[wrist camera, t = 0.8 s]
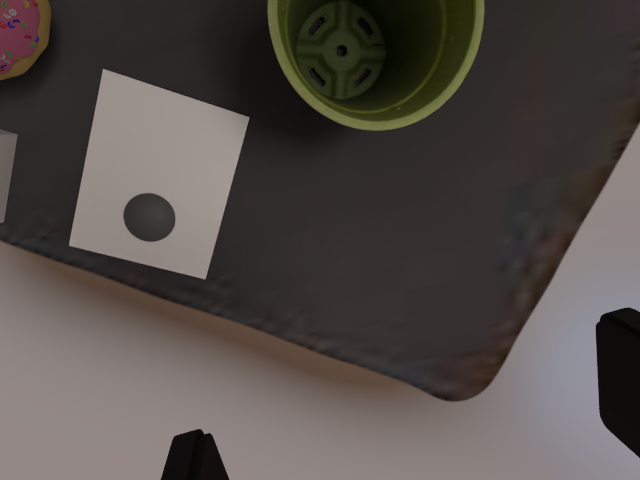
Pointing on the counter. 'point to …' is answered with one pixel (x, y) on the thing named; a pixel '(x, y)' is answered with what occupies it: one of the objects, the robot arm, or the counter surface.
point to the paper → (156, 176)
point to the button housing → (6, 167)
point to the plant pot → (376, 55)
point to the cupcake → (22, 34)
